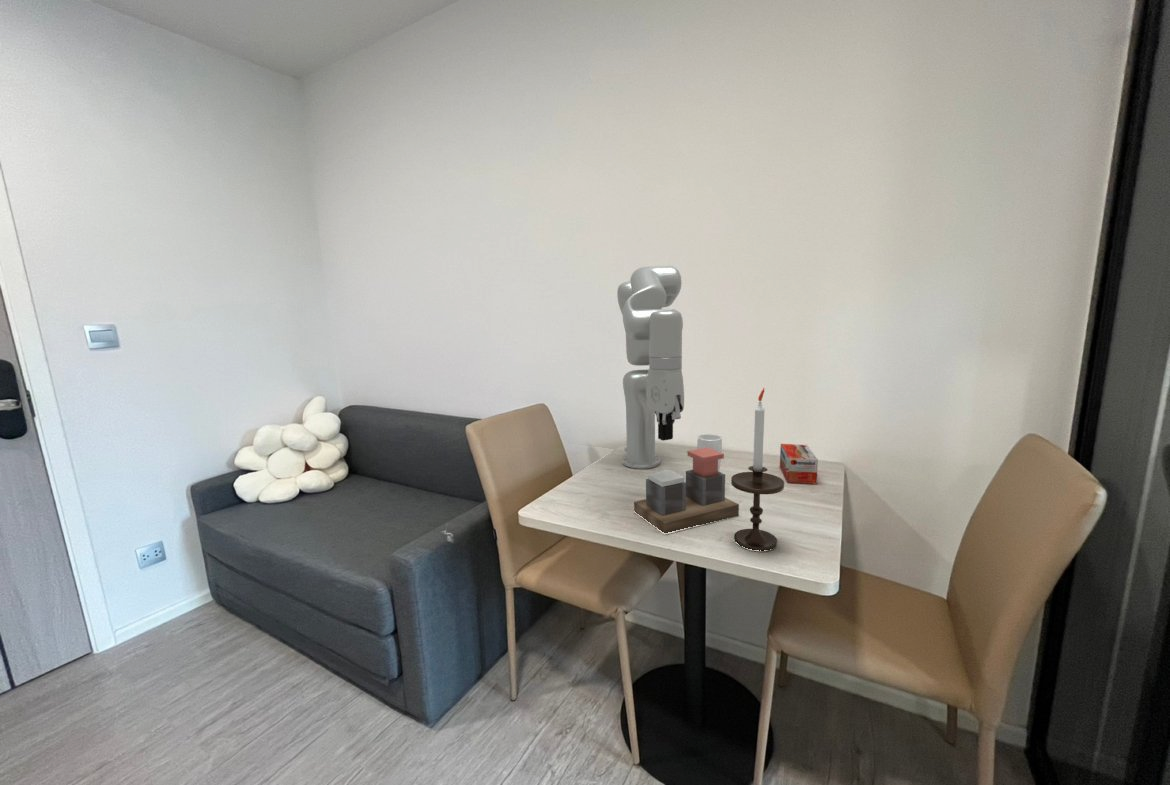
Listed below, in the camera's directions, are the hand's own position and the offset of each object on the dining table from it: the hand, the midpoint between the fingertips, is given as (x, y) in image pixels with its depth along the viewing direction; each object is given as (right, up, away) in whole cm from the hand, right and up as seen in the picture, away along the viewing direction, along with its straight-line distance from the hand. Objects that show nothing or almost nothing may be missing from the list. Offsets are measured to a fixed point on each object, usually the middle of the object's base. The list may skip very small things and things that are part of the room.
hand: (665, 438), depth 117 cm
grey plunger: (+1, -17, +3) cm, 18 cm away
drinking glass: (+17, -16, +24) cm, 33 cm away
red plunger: (+11, -12, +7) cm, 18 cm away
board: (+6, -20, +6) cm, 22 cm away
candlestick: (+19, -22, -9) cm, 30 cm away
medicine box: (+45, -14, +31) cm, 56 cm away
